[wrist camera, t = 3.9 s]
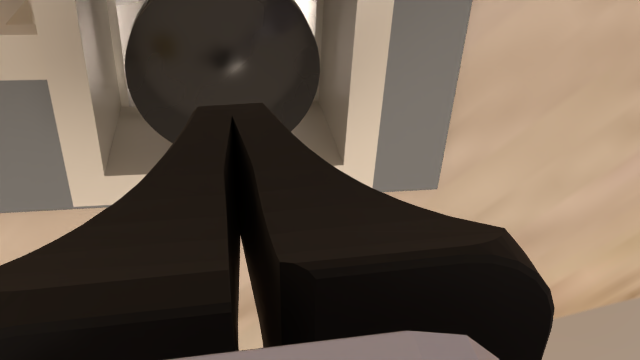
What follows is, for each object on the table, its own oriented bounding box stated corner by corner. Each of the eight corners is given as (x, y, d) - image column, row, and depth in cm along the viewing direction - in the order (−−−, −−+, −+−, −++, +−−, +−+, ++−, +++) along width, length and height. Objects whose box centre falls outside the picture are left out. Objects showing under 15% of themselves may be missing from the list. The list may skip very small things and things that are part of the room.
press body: (361, -144, 18) (408, -126, 14) (340, 119, 23) (372, 190, 19) (-20, -161, 16) (-93, -146, 12) (44, 129, 21) (7, 210, 17)
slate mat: (517, -274, 18) (523, -275, 17) (434, 184, 26) (437, 189, 26) (-173, -334, 14) (-182, -337, 14) (-10, 207, 23) (-14, 213, 23)
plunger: (316, -93, 18) (356, -55, 14) (308, 92, 22) (338, 173, 17) (106, -99, 17) (73, -61, 13) (131, 96, 21) (112, 184, 16)
